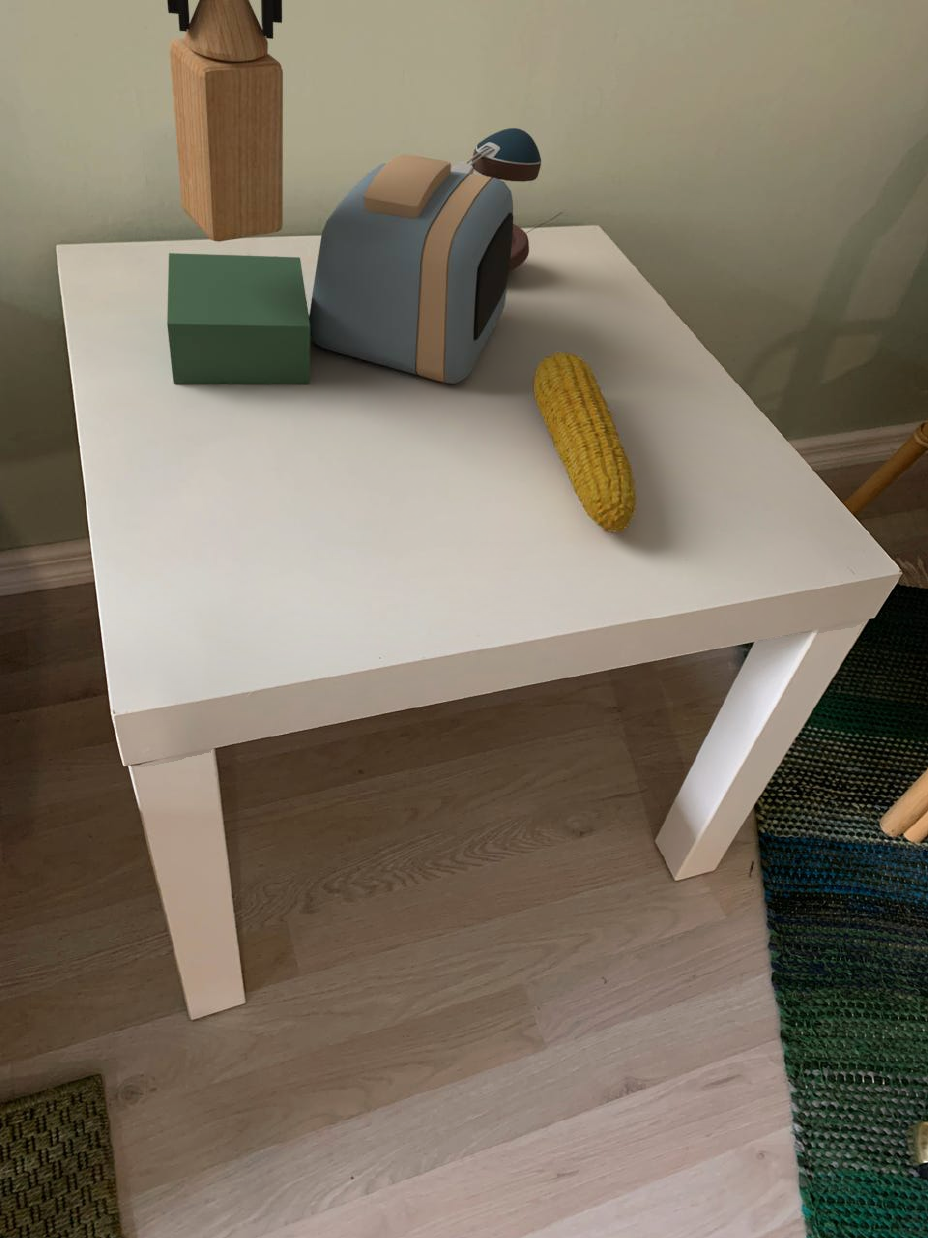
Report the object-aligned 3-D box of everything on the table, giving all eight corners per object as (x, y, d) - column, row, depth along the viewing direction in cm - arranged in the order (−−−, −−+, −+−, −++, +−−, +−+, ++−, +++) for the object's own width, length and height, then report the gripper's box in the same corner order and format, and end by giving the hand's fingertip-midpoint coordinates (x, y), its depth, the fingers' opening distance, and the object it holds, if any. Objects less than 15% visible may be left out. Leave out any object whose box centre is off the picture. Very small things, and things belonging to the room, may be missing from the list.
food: (520, 396, 91) (532, 341, 86) (576, 395, 92) (590, 341, 88) (587, 550, 77) (604, 494, 73) (650, 546, 79) (671, 491, 74)
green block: (173, 383, 85) (167, 323, 80) (174, 311, 92) (168, 252, 88) (309, 384, 87) (310, 325, 83) (299, 313, 95) (300, 256, 91)
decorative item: (285, 233, 81) (286, -43, 66) (212, 246, 78) (196, -42, 63) (250, 199, 84) (244, -72, 70) (178, 209, 81) (156, -72, 66)
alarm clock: (463, 397, 89) (488, 234, 78) (300, 351, 91) (301, 184, 79) (506, 314, 100) (534, 161, 89) (360, 274, 102) (369, 118, 90)
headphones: (538, 225, 113) (402, 295, 102) (556, 91, 101) (405, 156, 90) (577, 248, 110) (443, 322, 100) (601, 114, 98) (451, 183, 88)
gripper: (347, -296, 61) (337, 21, 75) (64, -343, 57) (106, 1, 71) (361, -280, 56) (347, 56, 70) (52, -329, 53) (100, 36, 66)
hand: (226, 25), depth 70 cm, fingers closed on decorative item, 5 cm apart
